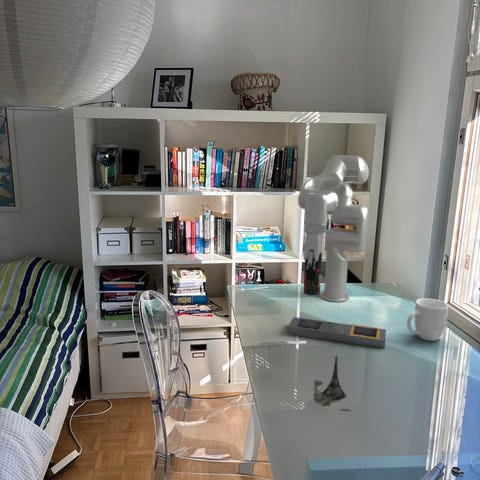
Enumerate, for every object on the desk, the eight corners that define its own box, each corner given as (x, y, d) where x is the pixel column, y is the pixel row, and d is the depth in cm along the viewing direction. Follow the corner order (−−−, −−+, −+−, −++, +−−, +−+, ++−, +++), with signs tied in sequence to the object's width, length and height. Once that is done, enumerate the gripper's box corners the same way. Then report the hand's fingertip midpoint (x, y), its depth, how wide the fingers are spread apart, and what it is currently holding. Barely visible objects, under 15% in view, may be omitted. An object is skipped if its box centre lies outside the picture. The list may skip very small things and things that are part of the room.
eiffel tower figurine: (314, 381, 144) (316, 339, 141) (348, 384, 143) (352, 343, 140) (313, 409, 130) (316, 363, 127) (351, 413, 128) (355, 367, 125)
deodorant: (319, 296, 172) (321, 255, 169) (302, 294, 173) (304, 254, 170) (320, 290, 178) (322, 251, 174) (304, 289, 179) (305, 250, 176)
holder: (293, 324, 185) (293, 316, 185) (385, 337, 175) (386, 329, 175) (287, 334, 176) (288, 326, 175) (384, 348, 166) (385, 339, 165)
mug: (416, 346, 168) (419, 311, 165) (397, 333, 178) (400, 300, 176) (451, 341, 173) (455, 307, 170) (430, 329, 183) (434, 297, 180)
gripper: (308, 223, 179) (306, 269, 183) (299, 232, 163) (297, 282, 167) (329, 224, 177) (326, 271, 181) (321, 233, 161) (319, 285, 165)
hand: (312, 276), depth 174 cm, fingers closed on deodorant, 5 cm apart
